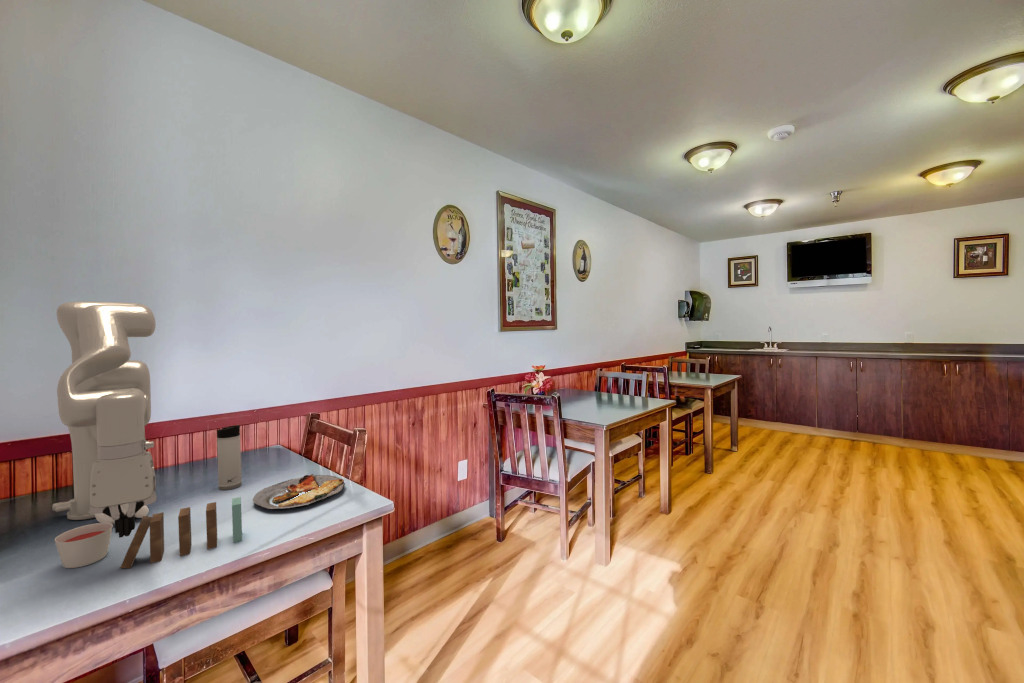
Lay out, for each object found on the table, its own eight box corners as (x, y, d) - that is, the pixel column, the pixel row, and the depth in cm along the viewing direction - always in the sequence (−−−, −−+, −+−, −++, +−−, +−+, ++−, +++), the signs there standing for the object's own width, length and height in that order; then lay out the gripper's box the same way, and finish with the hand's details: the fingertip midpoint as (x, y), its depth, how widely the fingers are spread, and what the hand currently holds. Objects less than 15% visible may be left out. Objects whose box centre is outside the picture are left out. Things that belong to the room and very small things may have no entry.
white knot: (164, 514, 115) (163, 482, 115) (106, 533, 105) (104, 498, 104) (147, 506, 121) (146, 476, 121) (90, 523, 110) (89, 490, 110)
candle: (124, 548, 97) (123, 522, 97) (86, 571, 88) (85, 541, 88) (85, 550, 97) (84, 523, 96) (42, 572, 88) (41, 543, 87)
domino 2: (150, 563, 91) (149, 522, 90) (154, 553, 95) (153, 514, 95) (161, 560, 92) (160, 520, 91) (164, 551, 96) (163, 512, 96)
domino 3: (179, 556, 93) (178, 516, 93) (181, 546, 97) (180, 508, 97) (189, 553, 94) (188, 514, 94) (191, 544, 98) (190, 507, 98)
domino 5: (233, 542, 99) (231, 505, 99) (233, 534, 103) (232, 498, 103) (242, 540, 100) (240, 503, 100) (242, 532, 104) (240, 496, 104)
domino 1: (120, 567, 88) (139, 524, 89) (125, 557, 92) (143, 516, 94) (130, 568, 89) (149, 525, 90) (135, 557, 93) (153, 516, 95)
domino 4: (207, 549, 96) (205, 511, 96) (208, 540, 100) (206, 503, 100) (216, 547, 97) (215, 509, 97) (217, 538, 101) (216, 501, 101)
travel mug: (234, 490, 132) (232, 427, 132) (213, 490, 132) (211, 428, 132) (247, 483, 139) (245, 423, 138) (227, 483, 139) (225, 423, 138)
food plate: (315, 476, 144) (315, 466, 144) (360, 489, 132) (360, 478, 132) (238, 504, 123) (237, 492, 122) (283, 523, 111) (282, 510, 110)
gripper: (169, 441, 97) (172, 519, 97) (78, 452, 89) (82, 537, 89) (164, 448, 91) (167, 531, 91) (66, 461, 82) (70, 552, 83)
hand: (125, 534), depth 90 cm, fingers closed
